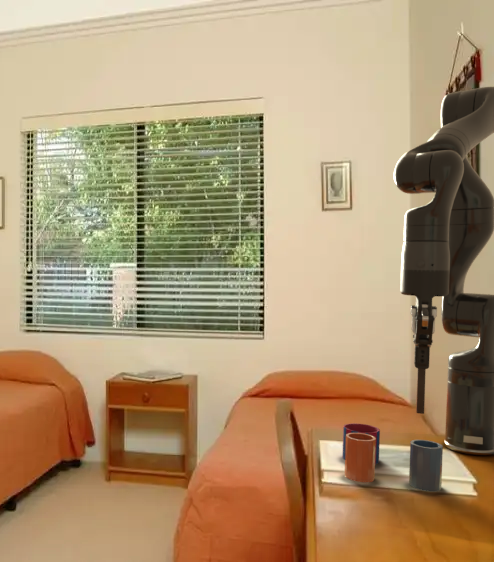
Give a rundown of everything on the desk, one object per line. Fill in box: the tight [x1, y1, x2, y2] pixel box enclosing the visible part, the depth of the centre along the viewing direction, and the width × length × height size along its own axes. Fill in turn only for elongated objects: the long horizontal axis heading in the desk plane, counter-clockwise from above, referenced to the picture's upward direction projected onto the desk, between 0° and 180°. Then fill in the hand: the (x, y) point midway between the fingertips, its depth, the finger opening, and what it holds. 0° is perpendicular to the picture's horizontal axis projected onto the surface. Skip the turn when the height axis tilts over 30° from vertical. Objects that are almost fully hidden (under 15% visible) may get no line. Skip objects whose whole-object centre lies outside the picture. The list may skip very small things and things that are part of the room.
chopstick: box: [415, 368, 427, 415], centre depth 104 cm, size 1×1×13 cm
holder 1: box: [344, 433, 376, 483], centre depth 108 cm, size 5×5×8 cm
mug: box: [342, 422, 381, 465], centre depth 117 cm, size 7×10×7 cm
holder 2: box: [408, 439, 444, 493], centre depth 104 cm, size 5×5×8 cm
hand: (421, 367), depth 104 cm, fingers closed on chopstick, 1 cm apart
